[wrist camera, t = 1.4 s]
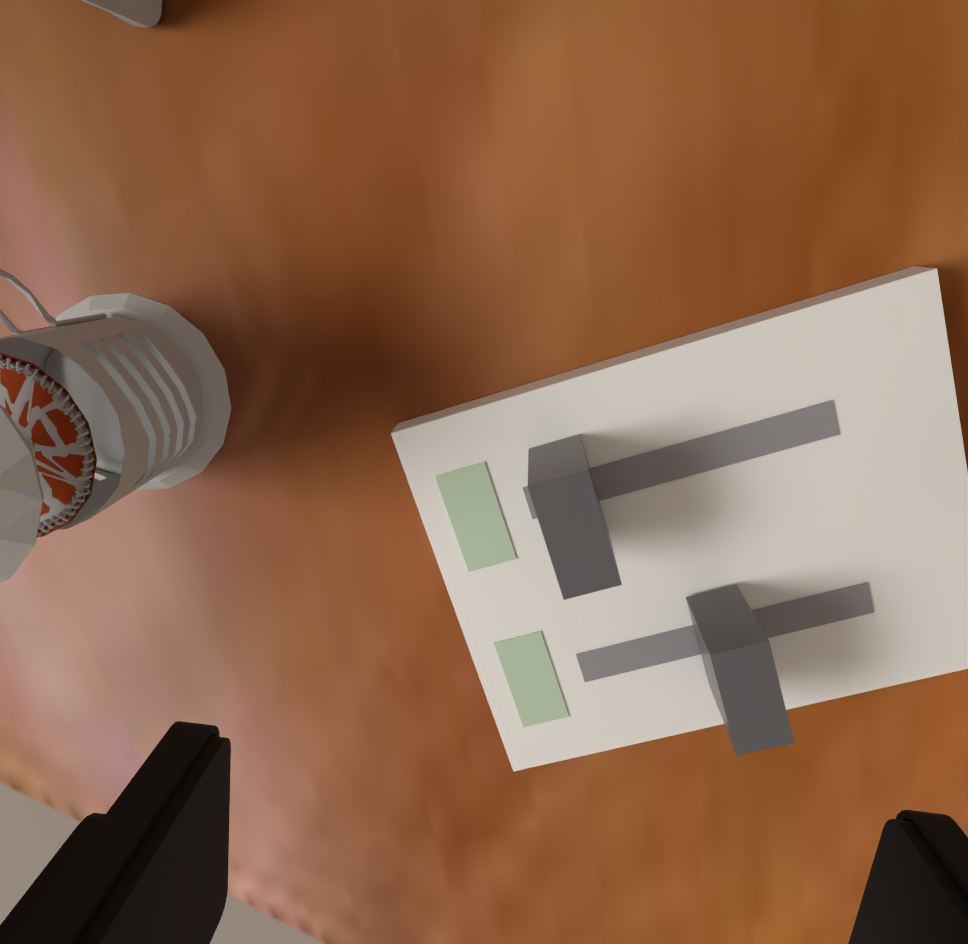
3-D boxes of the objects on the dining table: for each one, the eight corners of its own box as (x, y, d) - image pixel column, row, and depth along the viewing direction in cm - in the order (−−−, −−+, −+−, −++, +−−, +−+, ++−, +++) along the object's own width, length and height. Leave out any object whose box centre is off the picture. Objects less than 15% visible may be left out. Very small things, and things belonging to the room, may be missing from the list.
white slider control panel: (913, 266, 33) (1018, 274, 26) (972, 640, 38) (1074, 734, 31) (398, 423, 37) (365, 468, 29) (514, 747, 42) (510, 853, 34)
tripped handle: (736, 584, 36) (769, 640, 31) (759, 674, 37) (793, 742, 32) (685, 597, 36) (709, 654, 31) (709, 686, 37) (736, 755, 32)
